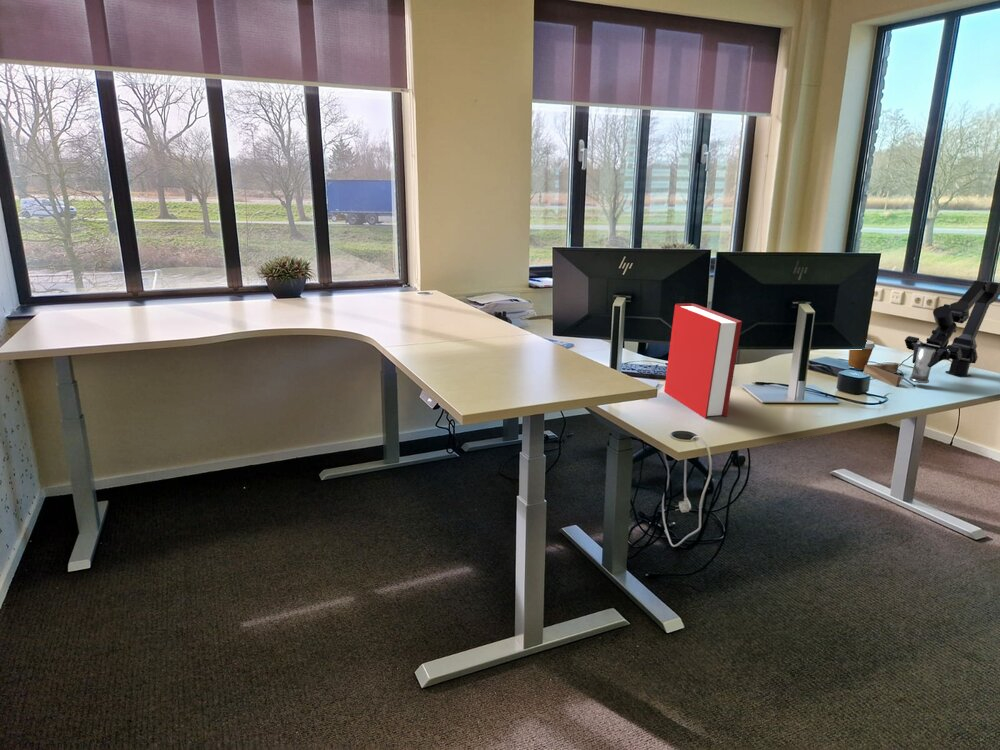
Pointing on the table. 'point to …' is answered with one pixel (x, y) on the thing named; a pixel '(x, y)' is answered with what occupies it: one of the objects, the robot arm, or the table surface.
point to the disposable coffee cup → (861, 356)
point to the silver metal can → (922, 365)
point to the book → (702, 359)
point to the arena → (884, 373)
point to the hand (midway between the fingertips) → (921, 364)
